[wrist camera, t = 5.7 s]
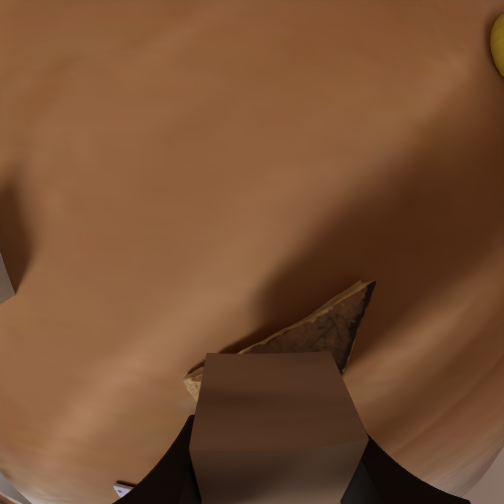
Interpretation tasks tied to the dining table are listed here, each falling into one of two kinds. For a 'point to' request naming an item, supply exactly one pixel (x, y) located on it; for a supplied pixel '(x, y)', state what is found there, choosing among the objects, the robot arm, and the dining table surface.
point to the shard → (314, 332)
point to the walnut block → (274, 430)
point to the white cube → (5, 283)
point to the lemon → (498, 43)
